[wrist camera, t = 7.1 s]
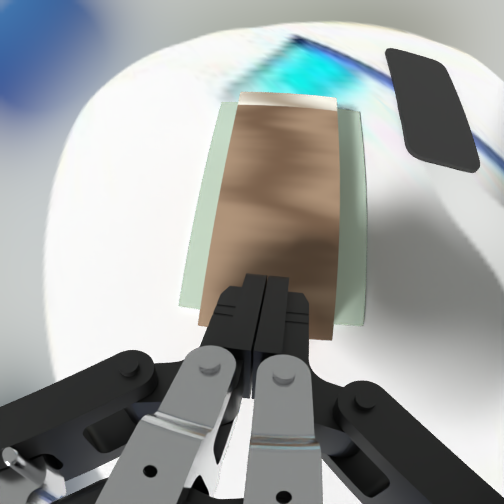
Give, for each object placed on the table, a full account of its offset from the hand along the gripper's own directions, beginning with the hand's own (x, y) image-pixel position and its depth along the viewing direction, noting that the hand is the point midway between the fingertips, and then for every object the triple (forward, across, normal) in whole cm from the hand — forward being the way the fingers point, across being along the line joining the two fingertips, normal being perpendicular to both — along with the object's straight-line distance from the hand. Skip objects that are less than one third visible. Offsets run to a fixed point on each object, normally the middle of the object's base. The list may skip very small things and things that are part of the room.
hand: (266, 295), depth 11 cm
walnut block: (+2, 0, +4) cm, 5 cm away
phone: (+19, -13, -8) cm, 25 cm away
